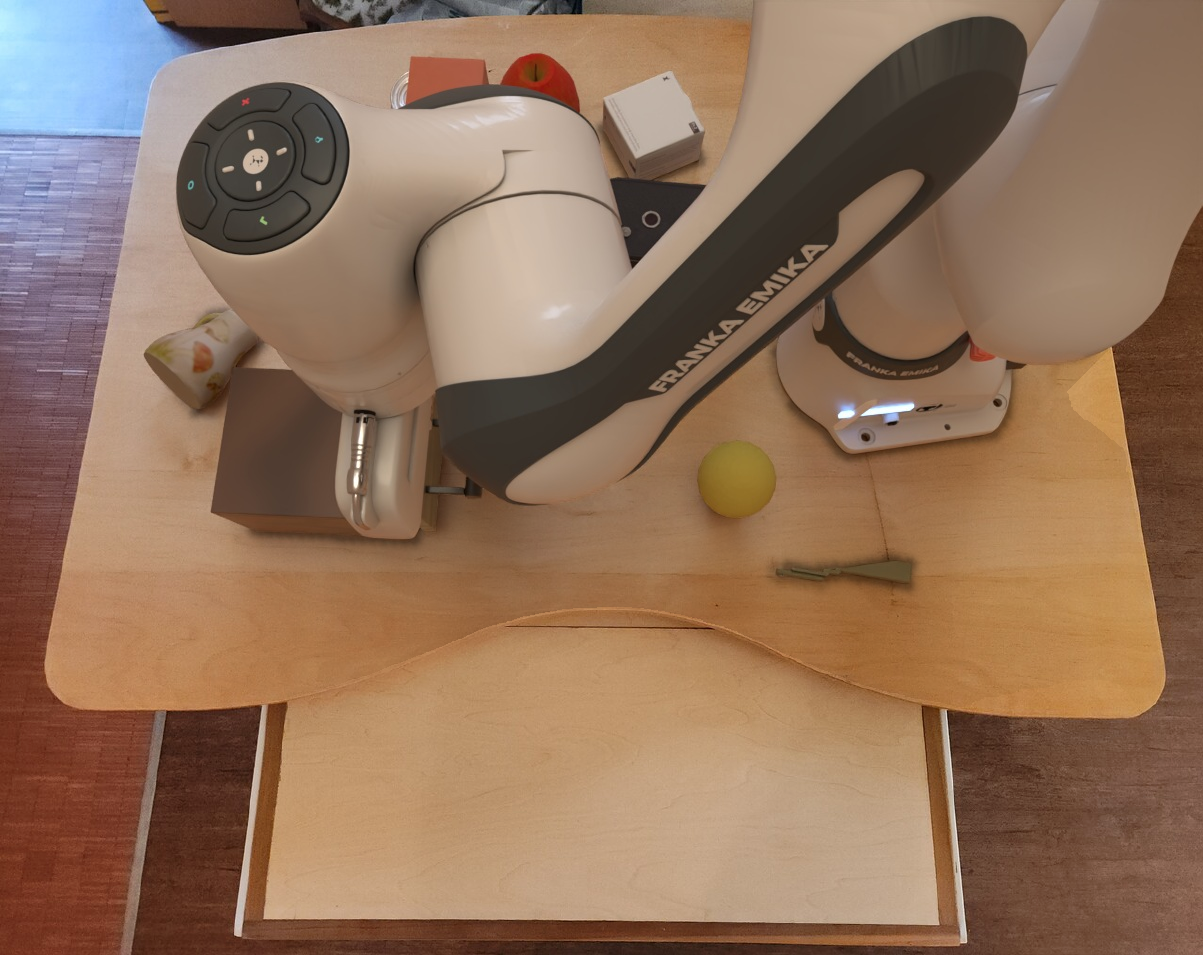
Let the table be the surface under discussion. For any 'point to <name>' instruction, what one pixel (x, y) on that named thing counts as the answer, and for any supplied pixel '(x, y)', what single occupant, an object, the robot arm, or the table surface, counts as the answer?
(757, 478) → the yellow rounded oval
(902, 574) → the toy shotgun
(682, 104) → the small box
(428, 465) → the drawer
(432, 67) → the block
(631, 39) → the table surface
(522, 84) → the apple
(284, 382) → the cabinet
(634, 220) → the camera
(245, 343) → the mug
